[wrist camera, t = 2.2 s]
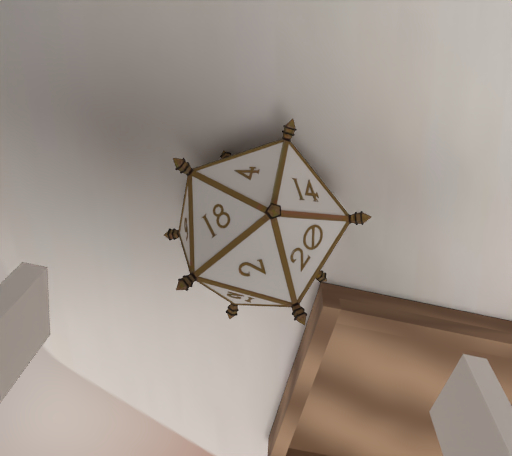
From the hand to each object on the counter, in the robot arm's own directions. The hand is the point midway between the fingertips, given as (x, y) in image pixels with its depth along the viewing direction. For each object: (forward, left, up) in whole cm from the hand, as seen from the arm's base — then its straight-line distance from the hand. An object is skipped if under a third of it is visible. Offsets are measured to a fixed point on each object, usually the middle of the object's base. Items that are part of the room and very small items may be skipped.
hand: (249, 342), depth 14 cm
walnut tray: (+12, +12, -11) cm, 20 cm away
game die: (0, 0, -11) cm, 11 cm away
